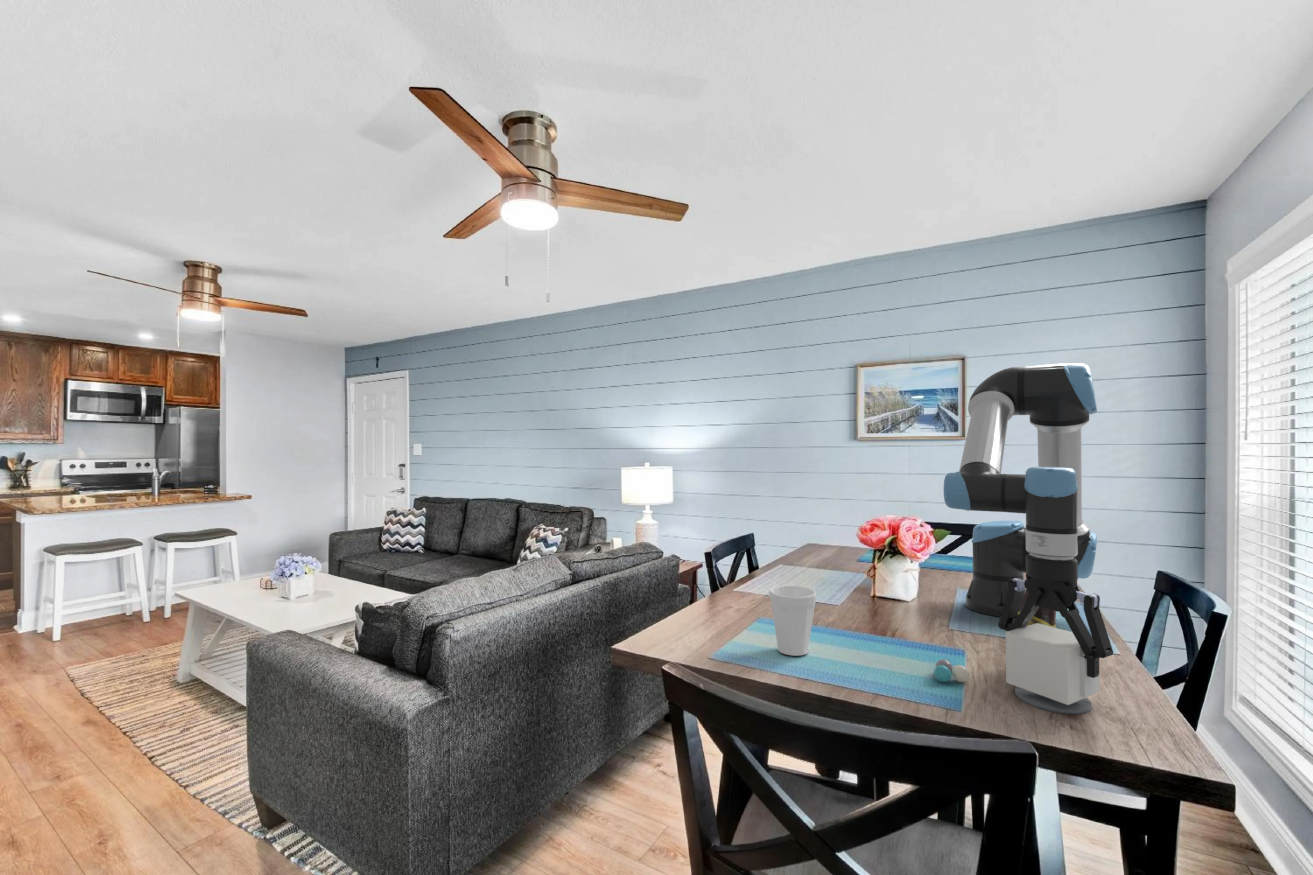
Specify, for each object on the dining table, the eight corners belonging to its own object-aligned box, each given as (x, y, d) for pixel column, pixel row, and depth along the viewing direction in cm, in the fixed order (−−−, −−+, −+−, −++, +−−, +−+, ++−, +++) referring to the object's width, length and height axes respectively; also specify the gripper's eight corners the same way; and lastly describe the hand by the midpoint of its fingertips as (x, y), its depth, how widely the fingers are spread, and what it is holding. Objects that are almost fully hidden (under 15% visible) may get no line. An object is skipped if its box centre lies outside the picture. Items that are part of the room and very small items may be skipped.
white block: (1037, 671, 108) (1037, 622, 108) (1099, 691, 99) (1099, 639, 99) (1006, 682, 103) (1005, 631, 103) (1068, 704, 94) (1067, 649, 94)
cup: (759, 648, 126) (759, 588, 126) (795, 640, 131) (794, 583, 131) (790, 664, 117) (789, 599, 117) (827, 655, 122) (826, 593, 122)
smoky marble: (942, 670, 113) (942, 655, 113) (956, 676, 111) (956, 660, 111) (932, 674, 112) (932, 658, 112) (946, 679, 109) (946, 663, 109)
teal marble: (940, 676, 110) (940, 661, 110) (955, 682, 108) (955, 666, 108) (930, 680, 109) (930, 664, 109) (944, 686, 106) (944, 669, 106)
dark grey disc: (1036, 681, 108) (1036, 677, 108) (1104, 704, 99) (1104, 701, 99) (1001, 693, 103) (1001, 690, 103) (1069, 720, 93) (1069, 716, 93)
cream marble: (958, 677, 110) (957, 661, 110) (973, 682, 108) (972, 666, 108) (947, 680, 109) (947, 664, 109) (962, 686, 106) (962, 669, 106)
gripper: (975, 546, 109) (976, 664, 109) (1116, 570, 89) (1117, 714, 89) (999, 543, 113) (1000, 657, 113) (1139, 565, 93) (1140, 703, 93)
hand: (1052, 682), depth 101 cm, fingers closed on white block, 10 cm apart
